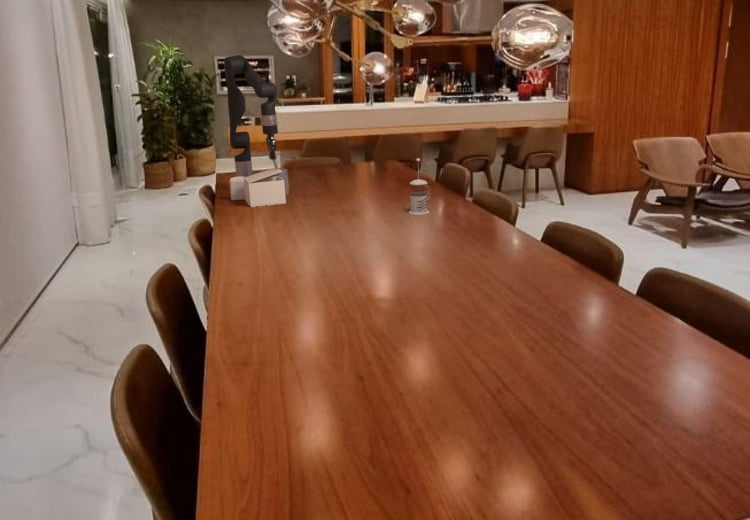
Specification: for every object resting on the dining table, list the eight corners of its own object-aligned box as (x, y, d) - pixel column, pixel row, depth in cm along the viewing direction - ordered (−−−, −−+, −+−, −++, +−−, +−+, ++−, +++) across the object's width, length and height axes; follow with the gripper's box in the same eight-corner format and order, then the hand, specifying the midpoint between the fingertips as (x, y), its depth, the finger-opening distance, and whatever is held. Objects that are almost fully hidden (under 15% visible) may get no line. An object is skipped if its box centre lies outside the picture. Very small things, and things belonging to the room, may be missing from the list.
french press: (404, 212, 296) (402, 158, 288) (422, 208, 303) (421, 155, 296) (418, 215, 289) (417, 160, 281) (436, 211, 296) (436, 157, 288)
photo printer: (250, 198, 343) (248, 175, 339) (250, 199, 339) (248, 176, 335) (231, 199, 342) (229, 176, 338) (230, 201, 338) (228, 177, 334)
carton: (245, 202, 332) (243, 179, 329) (279, 198, 339) (277, 176, 335) (250, 207, 320) (248, 183, 316) (285, 203, 326) (284, 180, 323)
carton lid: (243, 179, 329) (237, 161, 325) (278, 167, 334) (272, 149, 330) (248, 183, 316) (242, 164, 313) (284, 171, 321) (278, 152, 318)
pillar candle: (268, 194, 350) (265, 167, 345) (282, 192, 356) (280, 165, 352) (277, 197, 343) (275, 169, 338) (292, 194, 349) (290, 167, 345)
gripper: (259, 123, 324) (262, 157, 330) (265, 125, 312) (268, 161, 317) (273, 122, 327) (277, 156, 332) (280, 124, 315) (283, 159, 320)
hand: (272, 158), depth 325 cm, fingers closed
